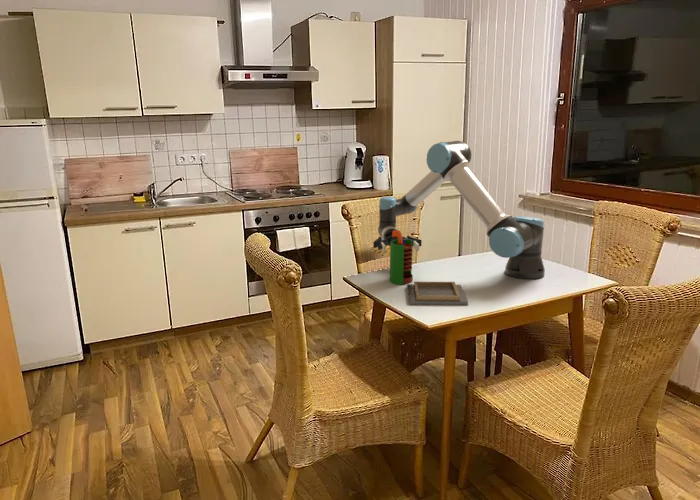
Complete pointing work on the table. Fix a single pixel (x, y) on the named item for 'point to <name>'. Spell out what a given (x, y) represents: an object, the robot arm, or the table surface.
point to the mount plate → (436, 294)
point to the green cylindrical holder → (400, 259)
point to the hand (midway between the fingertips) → (401, 248)
